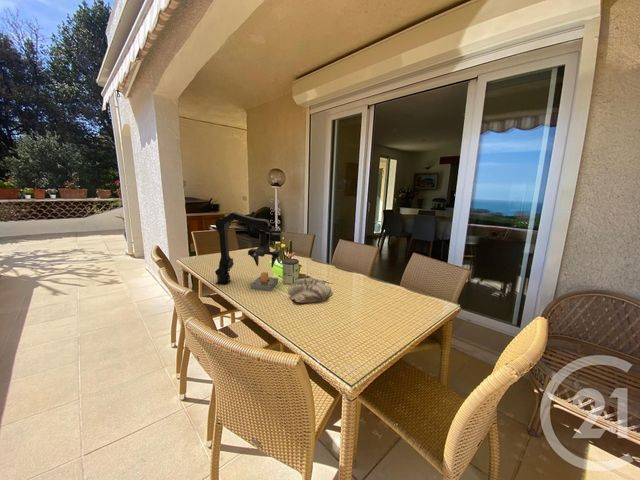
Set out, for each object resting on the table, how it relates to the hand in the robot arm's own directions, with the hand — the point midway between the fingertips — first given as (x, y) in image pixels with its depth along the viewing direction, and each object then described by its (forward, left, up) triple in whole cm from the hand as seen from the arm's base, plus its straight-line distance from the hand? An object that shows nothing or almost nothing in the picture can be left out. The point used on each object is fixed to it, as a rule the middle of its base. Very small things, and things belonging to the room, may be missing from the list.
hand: (264, 266), depth 151 cm
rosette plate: (0, 0, -12) cm, 12 cm away
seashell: (+31, -7, -12) cm, 34 cm away
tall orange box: (0, 0, -12) cm, 12 cm away
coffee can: (+13, +10, -12) cm, 20 cm away
